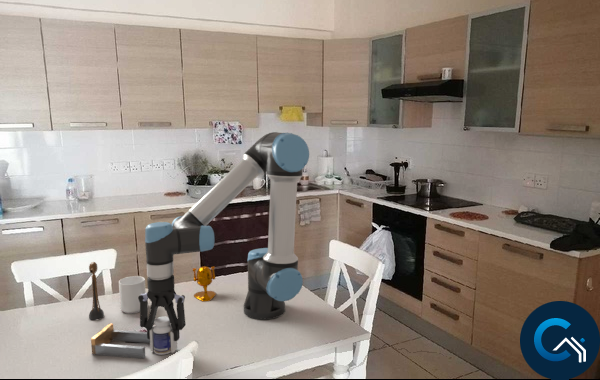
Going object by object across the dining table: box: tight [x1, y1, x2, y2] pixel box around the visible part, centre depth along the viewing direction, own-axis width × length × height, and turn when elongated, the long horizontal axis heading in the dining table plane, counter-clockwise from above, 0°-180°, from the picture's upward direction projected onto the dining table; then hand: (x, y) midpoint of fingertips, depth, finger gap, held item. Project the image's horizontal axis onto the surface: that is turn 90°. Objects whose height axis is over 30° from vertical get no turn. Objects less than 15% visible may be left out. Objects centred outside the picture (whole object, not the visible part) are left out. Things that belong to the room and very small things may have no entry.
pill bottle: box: [153, 315, 172, 356], centre depth 131 cm, size 6×6×10 cm
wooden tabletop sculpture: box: [88, 261, 105, 321], centre depth 152 cm, size 6×5×20 cm
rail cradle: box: [90, 323, 150, 359], centre depth 133 cm, size 16×10×5 cm, turn 83°
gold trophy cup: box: [192, 265, 217, 303], centre depth 172 cm, size 9×11×12 cm
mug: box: [118, 275, 147, 314], centre depth 161 cm, size 12×9×11 cm
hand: (163, 349), depth 132 cm, fingers closed on pill bottle, 6 cm apart
